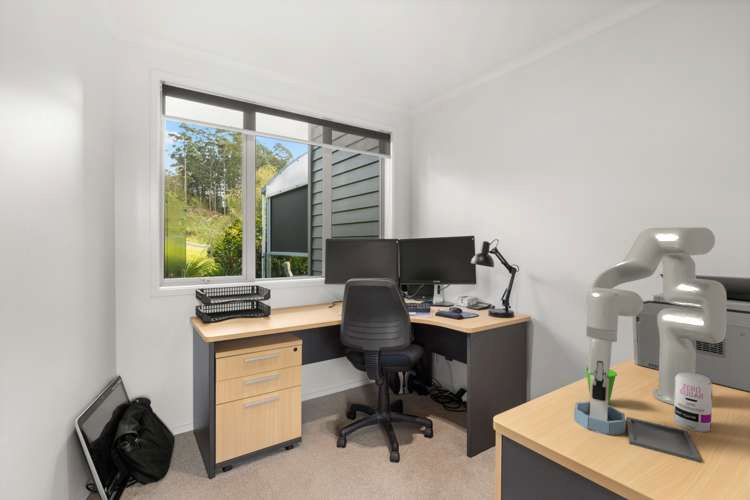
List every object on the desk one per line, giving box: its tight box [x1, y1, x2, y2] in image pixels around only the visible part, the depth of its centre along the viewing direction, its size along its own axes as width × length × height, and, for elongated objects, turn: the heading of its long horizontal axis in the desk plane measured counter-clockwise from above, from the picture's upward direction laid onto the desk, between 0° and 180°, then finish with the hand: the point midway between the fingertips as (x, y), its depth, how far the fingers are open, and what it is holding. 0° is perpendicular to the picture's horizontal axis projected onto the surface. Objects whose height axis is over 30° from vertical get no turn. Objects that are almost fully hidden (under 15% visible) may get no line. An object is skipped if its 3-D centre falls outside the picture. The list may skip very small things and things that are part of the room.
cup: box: [584, 366, 618, 406], centre depth 119 cm, size 9×9×11 cm
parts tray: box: [626, 416, 701, 463], centre depth 97 cm, size 16×14×1 cm
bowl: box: [573, 400, 626, 436], centre depth 104 cm, size 12×12×4 cm
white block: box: [589, 399, 609, 421], centre depth 107 cm, size 4×4×6 cm
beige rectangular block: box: [589, 375, 609, 403], centre depth 102 cm, size 4×4×6 cm
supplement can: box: [673, 372, 713, 433], centre depth 104 cm, size 8×8×15 cm
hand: (598, 396), depth 102 cm, fingers closed on beige rectangular block, 3 cm apart
